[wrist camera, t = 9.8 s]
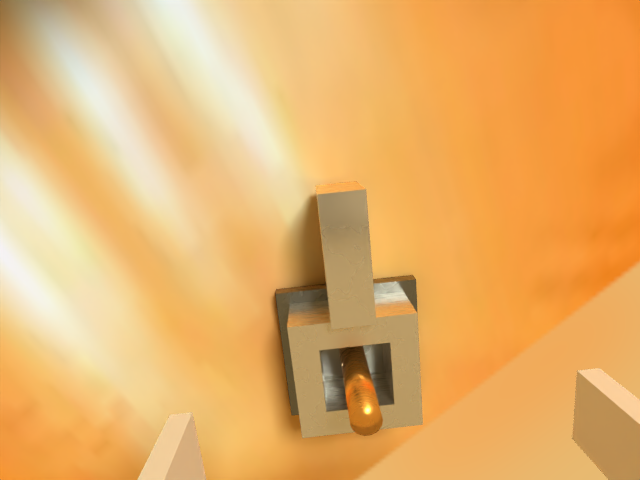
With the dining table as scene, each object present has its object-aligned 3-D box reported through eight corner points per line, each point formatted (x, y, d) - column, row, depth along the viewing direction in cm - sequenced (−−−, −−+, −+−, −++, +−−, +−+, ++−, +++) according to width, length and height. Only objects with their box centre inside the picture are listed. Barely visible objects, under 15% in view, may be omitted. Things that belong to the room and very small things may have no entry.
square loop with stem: (274, 190, 29) (267, 199, 24) (397, 176, 29) (415, 183, 24) (302, 403, 33) (302, 448, 29) (409, 391, 34) (426, 434, 29)
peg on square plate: (276, 289, 32) (263, 349, 23) (412, 275, 32) (455, 329, 23) (292, 407, 35) (286, 504, 25) (417, 394, 35) (458, 485, 26)
